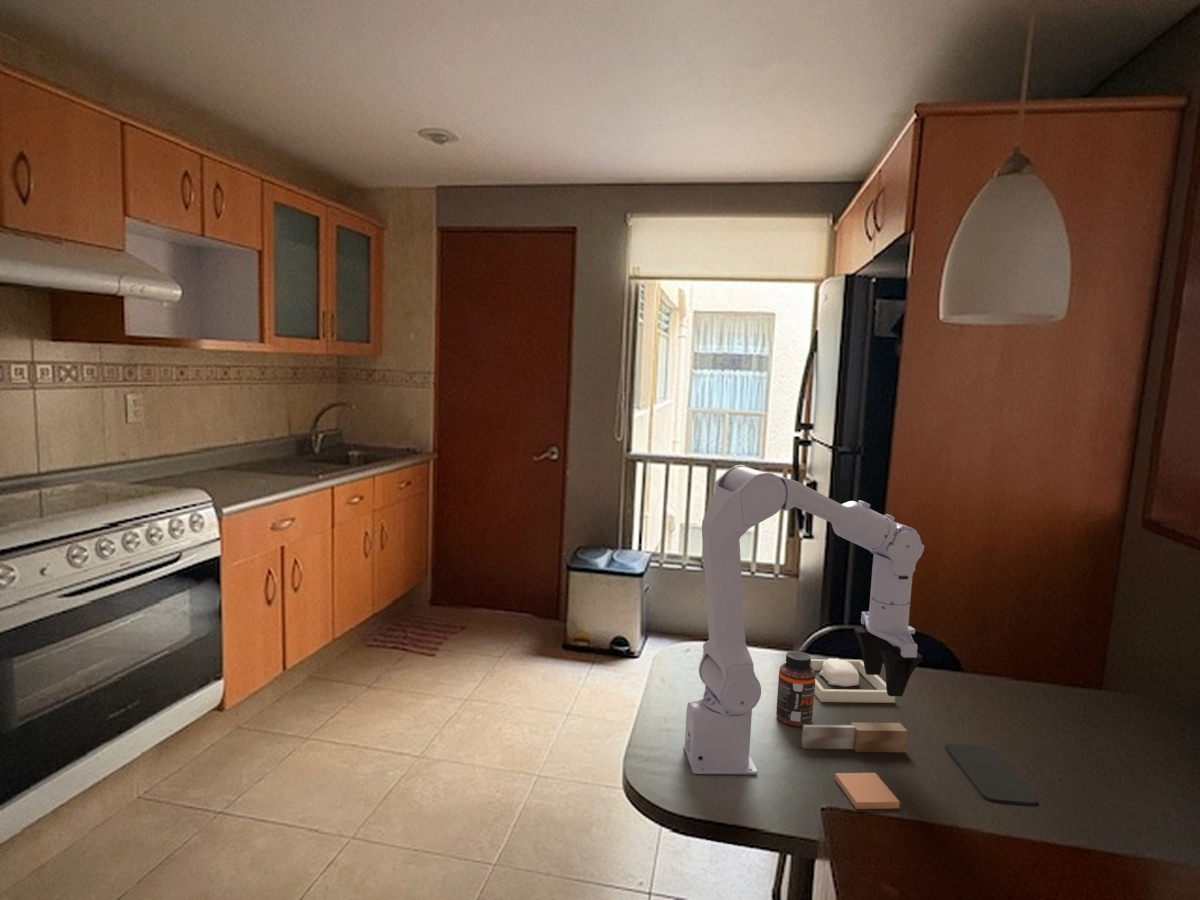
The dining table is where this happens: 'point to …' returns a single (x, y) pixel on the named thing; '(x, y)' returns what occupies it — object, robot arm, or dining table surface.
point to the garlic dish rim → (852, 695)
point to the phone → (990, 774)
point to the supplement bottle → (796, 690)
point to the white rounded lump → (839, 673)
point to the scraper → (856, 737)
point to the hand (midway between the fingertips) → (883, 684)
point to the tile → (866, 791)
